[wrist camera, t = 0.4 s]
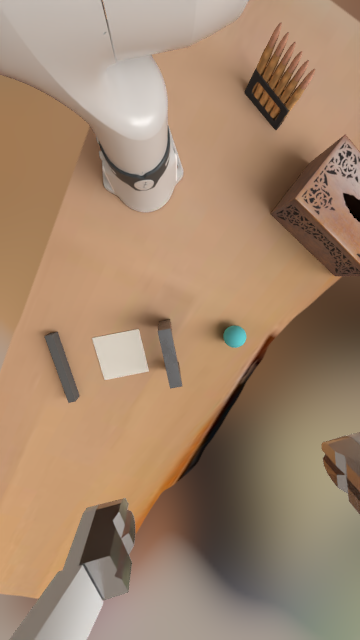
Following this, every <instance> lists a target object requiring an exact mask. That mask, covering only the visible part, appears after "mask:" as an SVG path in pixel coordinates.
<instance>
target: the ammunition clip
mask: <svg viewBox="0 0 360 640" xmlns="http://www.w3.org/2000/svg"><path fill="white" fill-rule="evenodd" d="M281 24H282V23H280V24H279V25H278V26H277V27H276V29H275V31H274V32H273V34H272V36H271V38H270V41H269V42H268V44H267V46H266V48H265V50H264V52H263V54H262V56H261V58H260V61H259V63H258V65H257V68H256V69H255V71H254V73H253V75H252V77H251V79H250V82H249V84H248V86H247V88H246V90H245V94H246V95H247V96H248V98H249V99H250V100H251V101H252V102H253V104H254V105H255V106H256V107H257V108H258V110H259V111H260V112H261V113H262V114H263V116H264V117H265V118H266V119H267V120H268V122H269V123H270V124H271V125H272V126H273V128H274V129H275V130H277V129H278V128H279V126H280V125H281V124H282V122H283V121H284V119H285V118H286V116H287V115H288V113H289V112H290V110H291V109H292V108H293V106H294V105H295V104H296V102H297V101H298V100H299V98H300V97H301V95H302V93H303V91H304V90H305V88H306V87H307V85H308V84H309V82H310V81H311V79H312V77H313V75H314V72H315V69H313V70H312V71H311V72H310V73H309V74H308V75H307V76H306V77H305V78H304V80H303V81H302V82H301V84H300V85H299V86H298V87H297V88H296V86H297V84H298V82H299V80H300V79H301V77H302V75H303V74H304V72H305V70H306V68H307V66H308V62H309V60H307V61H306V62H305V63H304V64H303V65H302V66H301V67H300V69H299V70H298V71H297V73H296V74H295V76H294V77H293V79H292V80H291V81H290V82H289V80H290V78H291V76H292V74H293V72H294V70H295V69H296V67H297V65H298V63H299V61H300V58H301V55H302V51H301V52H300V53H299V54H298V55H297V56H296V57H295V58H294V60H293V61H292V63H291V64H290V66H289V67H288V69H287V70H286V72H285V73H284V70H285V68H286V66H287V64H288V61H289V60H290V58H291V56H292V53H293V51H294V48H295V44H296V42H294V43H293V44H292V45H291V46H290V47H289V49H288V50H287V52H286V53H285V55H284V57H283V58H282V60H281V62H280V63H279V65H278V66H277V64H278V61H279V58H280V56H281V54H282V52H283V50H284V47H285V45H286V42H287V39H288V35H289V33H286V34H285V36H284V37H283V38H282V40H281V41H280V43H279V45H278V47H277V49H276V51H275V52H274V54H273V56H272V57H271V54H272V51H273V49H274V46H275V44H276V41H277V39H278V36H279V33H280V30H281ZM270 57H271V59H270ZM269 59H270V61H269ZM268 61H269V63H268ZM267 64H268V65H267ZM266 66H267V67H266ZM276 66H277V68H276ZM275 68H276V70H275ZM274 70H275V72H274ZM273 72H274V73H273ZM283 73H284V74H283ZM272 74H273V75H272ZM282 74H283V76H282ZM281 76H282V77H281ZM280 78H281V79H280ZM279 80H280V81H279ZM268 82H269V83H268ZM278 82H279V83H278ZM288 82H289V83H288ZM258 83H259V84H258ZM287 84H288V85H287ZM286 85H287V87H286ZM285 87H286V88H285ZM295 88H296V89H295ZM274 89H275V90H274ZM284 89H285V90H284ZM273 90H274V91H273ZM294 90H295V91H294ZM263 91H264V92H263ZM293 91H294V92H293ZM292 93H293V94H292ZM291 94H292V95H291ZM280 95H281V96H280ZM290 96H291V97H290ZM279 97H280V98H279ZM268 99H269V100H268ZM275 103H276V104H275ZM285 103H286V104H285Z"/></svg>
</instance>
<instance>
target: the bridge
mask: <svg viewBox="0 0 360 640" xmlns="http://www.w3.org/2000/svg"><path fill="white" fill-rule="evenodd" d="M158 335H159V339H160V344H161V348H162V353H163V357H164V362H165V367H166V371H167V376H168V380H169V385H170V389H171V388H176V387H181V386H182V381H181V374H180V367H179V362H177V357H176V352H175V347H174V342H173V337H172V328H171V322H170V319H169V320H164V321H159V326H158Z"/></svg>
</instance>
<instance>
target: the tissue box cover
mask: <svg viewBox="0 0 360 640" xmlns="http://www.w3.org/2000/svg"><path fill="white" fill-rule="evenodd" d="M345 203H346V204H347V205H348V206H349V208H350V209H351V210H352V211H353V212H354V213H355V214H356V215H357V216H358V217H359V218H360V151H359V150H358V149H357V148H356V146H355V145H354V144H353V143H352V142H351V141H350V139H349V138H348V137H347V136H346V135H344V136H343V137H342V138H340V139H339V140H338V141H337V142H335V143H334V144H333V145H332V146H330V147H329V148H328V149H327V150H325V151H324V152H323V153H322V154H320V155H319V156H318V157H317V158H315V159H314V160H313V161H312V162H310V163H309V165H308V166H307V167H306V168H305V170H304V171H303V172H302V174H301V175H300V176H299V177H298V179H297V180H296V181H295V183H294V184H293V185H292V186H291V188H290V189H289V190H288V192H287V193H286V194H285V195H284V197H283V198H282V199H281V201H280V202H279V203H278V205H277V206H276V207H275V208H274V210H273V211H272V212H271V215H272V216H273V217H274V218H275V219H276V220H277V221H278V222H279V223H281V224H282V225H283V226H284V227H285V228H286V229H287V230H288V231H289V232H290V233H291V234H292V235H293V236H294V237H295V238H296V239H297V240H298V241H299V242H300V243H301V244H302V245H303V246H304V247H305V248H306V249H308V250H309V251H310V252H311V253H312V254H313V255H314V256H315V257H316V258H317V259H318V260H319V261H320V262H321V263H322V264H323V265H324V266H325V267H326V268H327V269H328V270H329V271H330V272H331V273H332V274H333V275H334V276H360V222H358V221H357V220H356V219H355V218H353V215H352V214H351V213H349V212H350V211H349V209H348V207H347V206H346V205H345Z"/></svg>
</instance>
